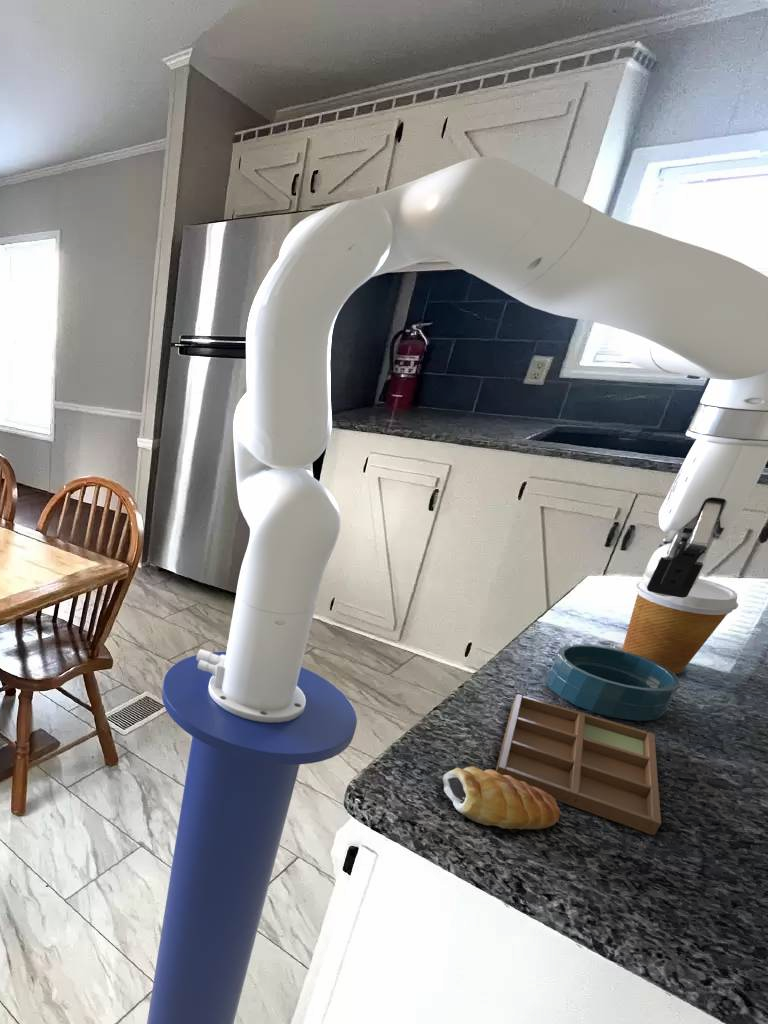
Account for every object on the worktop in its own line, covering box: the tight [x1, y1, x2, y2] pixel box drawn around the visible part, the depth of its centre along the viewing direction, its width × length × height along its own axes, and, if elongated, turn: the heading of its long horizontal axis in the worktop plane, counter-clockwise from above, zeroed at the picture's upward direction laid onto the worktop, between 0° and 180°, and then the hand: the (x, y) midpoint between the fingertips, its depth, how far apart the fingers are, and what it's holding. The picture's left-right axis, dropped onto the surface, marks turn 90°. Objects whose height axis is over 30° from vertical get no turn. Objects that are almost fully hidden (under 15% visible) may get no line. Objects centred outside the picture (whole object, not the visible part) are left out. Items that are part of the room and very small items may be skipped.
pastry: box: [442, 765, 561, 831], centre depth 65 cm, size 9×7×4 cm
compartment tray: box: [495, 693, 662, 836], centre depth 71 cm, size 13×19×2 cm
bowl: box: [545, 643, 681, 722], centre depth 81 cm, size 11×11×5 cm
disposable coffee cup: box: [621, 577, 739, 675], centre depth 87 cm, size 10×10×12 cm
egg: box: [642, 542, 707, 596], centre depth 72 cm, size 4×4×6 cm
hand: (665, 585), depth 73 cm, fingers closed on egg, 4 cm apart
